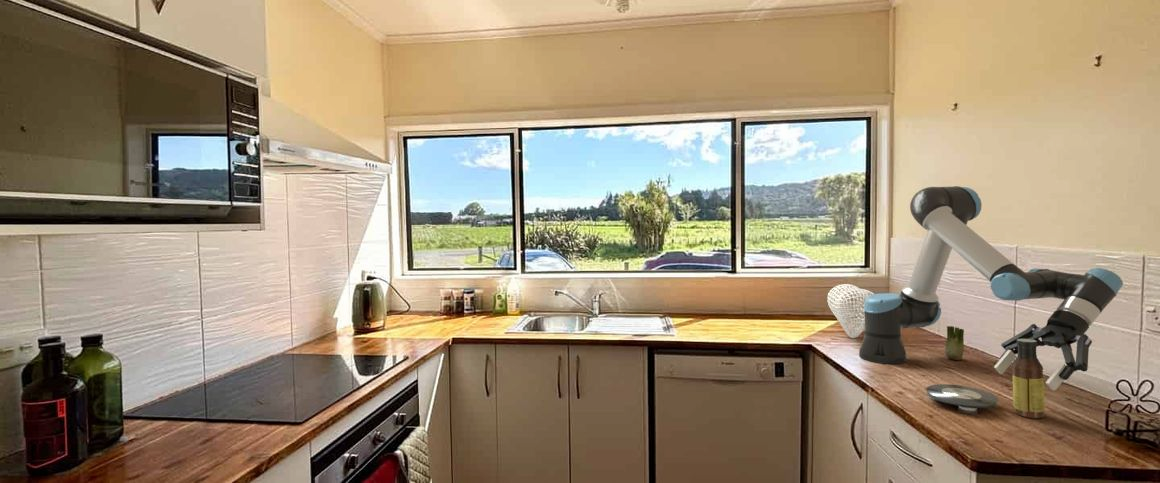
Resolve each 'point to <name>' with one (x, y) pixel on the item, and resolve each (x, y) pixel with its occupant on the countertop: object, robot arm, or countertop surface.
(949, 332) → the fennel bulb
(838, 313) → the heart
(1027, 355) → the sauce bottle
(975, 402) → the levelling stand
